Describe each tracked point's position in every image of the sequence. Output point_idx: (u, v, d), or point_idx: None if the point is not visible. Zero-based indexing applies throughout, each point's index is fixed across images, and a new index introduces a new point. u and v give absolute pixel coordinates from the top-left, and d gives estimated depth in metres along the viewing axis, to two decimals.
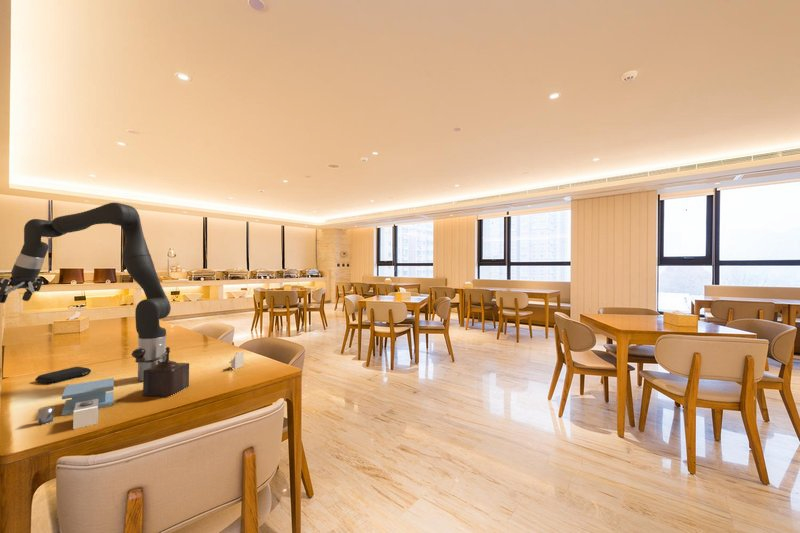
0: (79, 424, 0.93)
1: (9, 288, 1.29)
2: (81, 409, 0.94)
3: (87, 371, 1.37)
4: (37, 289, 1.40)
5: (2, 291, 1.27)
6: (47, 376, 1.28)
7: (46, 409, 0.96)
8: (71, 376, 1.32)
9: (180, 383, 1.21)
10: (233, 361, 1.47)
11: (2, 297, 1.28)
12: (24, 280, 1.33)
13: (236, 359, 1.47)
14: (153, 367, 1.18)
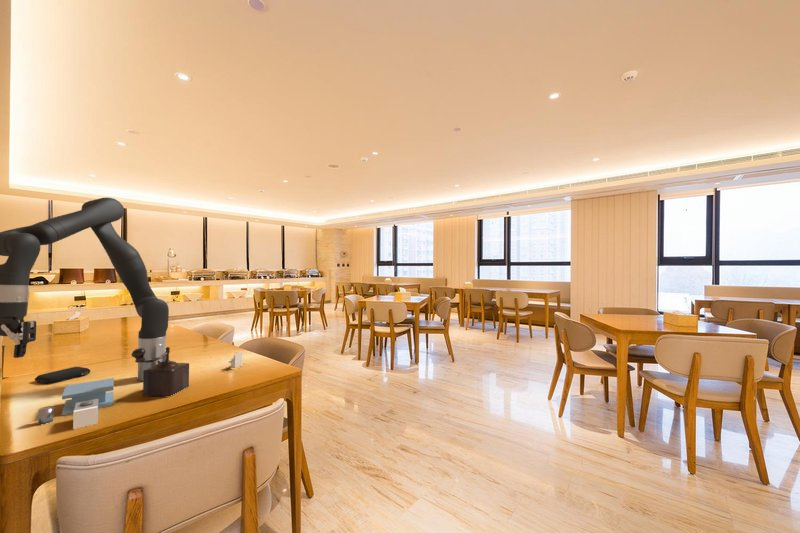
0: (79, 424, 0.93)
1: (22, 334, 0.94)
2: (81, 409, 0.94)
3: (86, 371, 1.37)
4: None
5: None
6: (46, 376, 1.28)
7: (46, 409, 0.96)
8: (70, 376, 1.32)
9: (180, 383, 1.21)
10: (232, 360, 1.47)
11: None
12: None
13: (236, 359, 1.48)
14: (153, 367, 1.18)
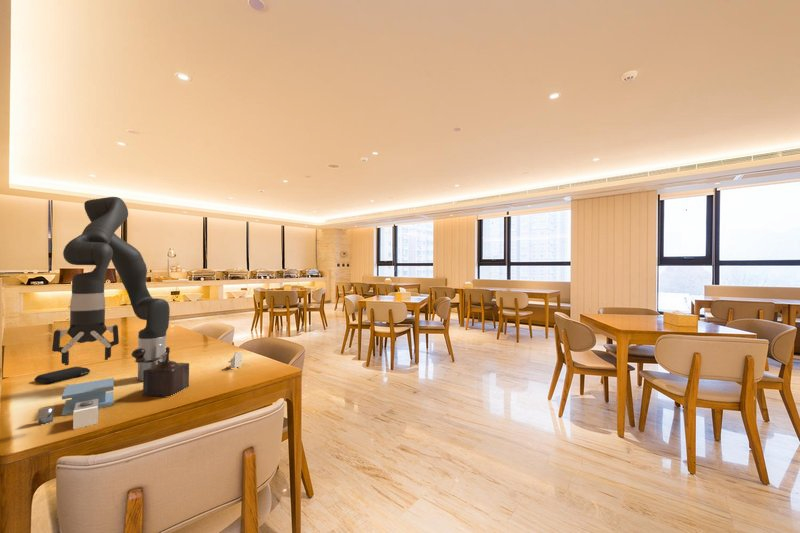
0: (79, 424, 0.93)
1: (105, 338, 1.00)
2: (81, 409, 0.94)
3: (86, 371, 1.37)
4: None
5: None
6: (46, 376, 1.28)
7: (46, 409, 0.96)
8: (70, 376, 1.32)
9: (180, 383, 1.21)
10: (232, 360, 1.48)
11: None
12: None
13: (235, 358, 1.48)
14: (153, 367, 1.18)
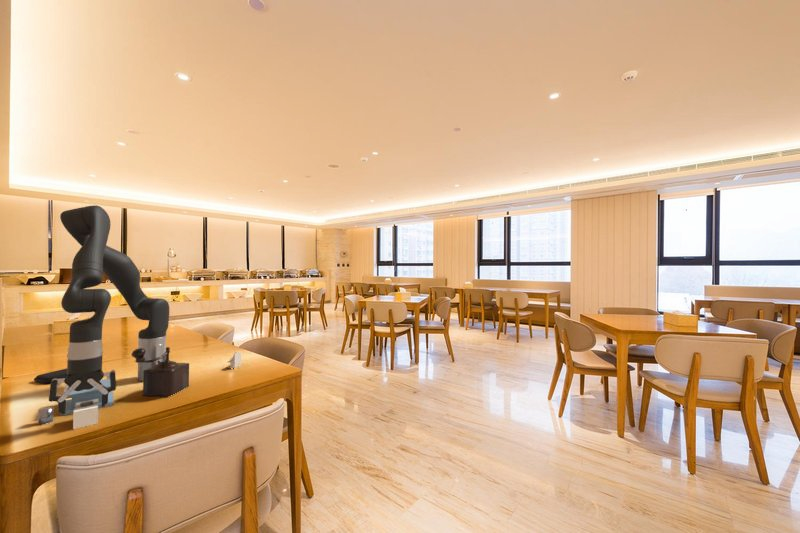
0: (79, 424, 0.93)
1: (102, 385, 1.00)
2: (81, 409, 0.94)
3: None
4: None
5: None
6: (45, 376, 1.28)
7: (46, 409, 0.96)
8: None
9: (180, 383, 1.21)
10: (232, 360, 1.48)
11: None
12: None
13: (235, 358, 1.48)
14: (153, 367, 1.18)
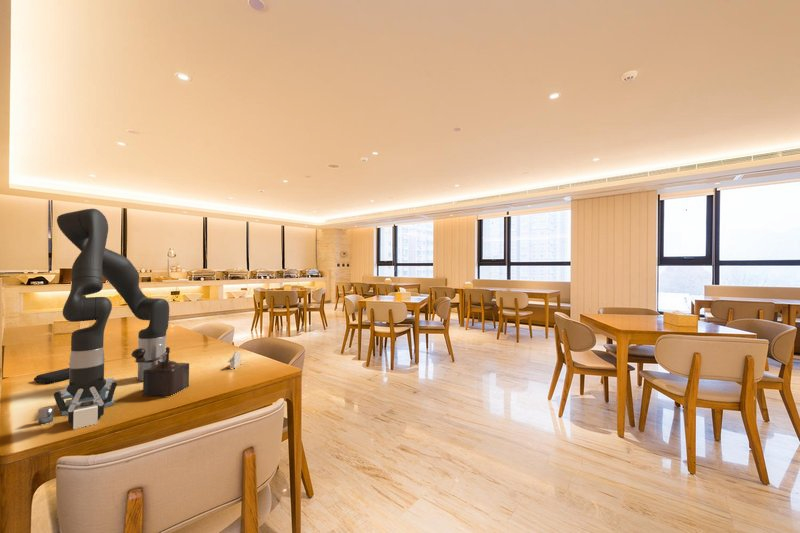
0: (79, 424, 0.93)
1: (100, 395, 0.99)
2: (81, 409, 0.94)
3: None
4: None
5: None
6: (45, 376, 1.28)
7: (46, 409, 0.96)
8: None
9: (180, 383, 1.21)
10: (231, 360, 1.48)
11: None
12: None
13: (235, 358, 1.49)
14: (153, 367, 1.18)
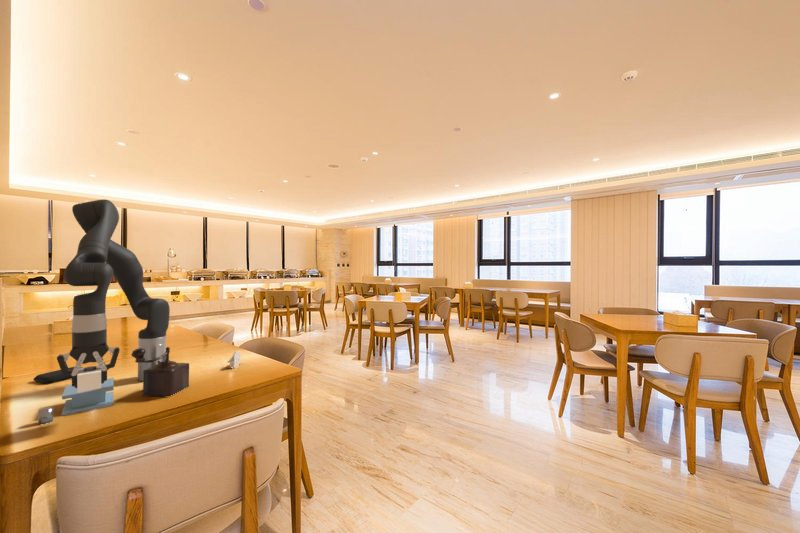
0: (83, 387, 0.93)
1: (103, 361, 1.00)
2: (85, 373, 0.94)
3: None
4: None
5: None
6: (45, 375, 1.28)
7: (46, 409, 0.96)
8: (69, 376, 1.32)
9: (180, 383, 1.21)
10: (231, 360, 1.48)
11: None
12: None
13: (235, 358, 1.49)
14: (153, 367, 1.18)
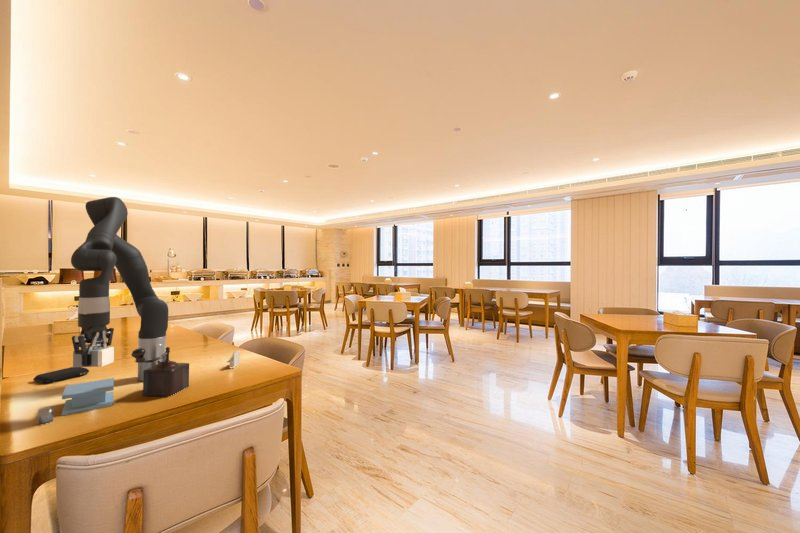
0: (105, 361, 1.04)
1: None
2: (102, 349, 1.04)
3: (85, 371, 1.37)
4: None
5: None
6: (44, 375, 1.28)
7: (46, 409, 0.96)
8: (68, 376, 1.32)
9: (180, 383, 1.21)
10: (231, 360, 1.48)
11: None
12: None
13: (234, 358, 1.49)
14: (153, 367, 1.18)
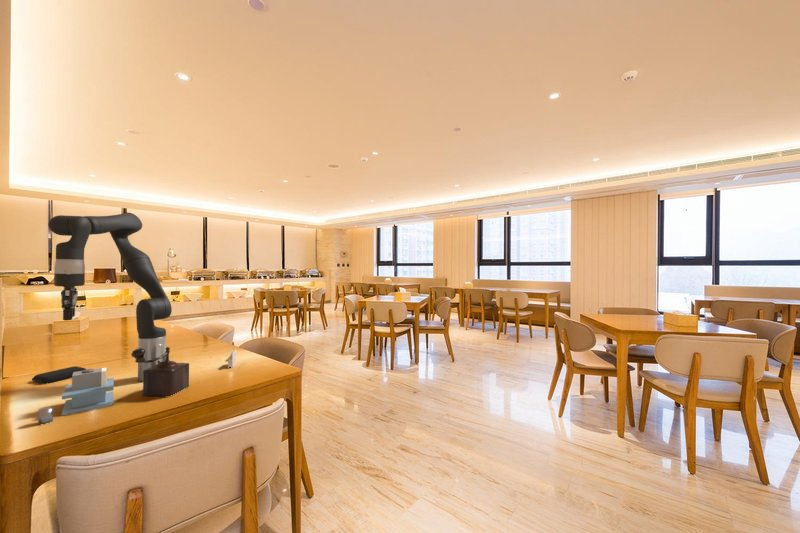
0: None
1: None
2: (102, 370, 1.10)
3: None
4: None
5: None
6: (43, 375, 1.28)
7: (46, 409, 0.96)
8: (67, 376, 1.32)
9: (180, 383, 1.21)
10: (229, 359, 1.49)
11: None
12: None
13: (233, 357, 1.50)
14: (153, 367, 1.18)
